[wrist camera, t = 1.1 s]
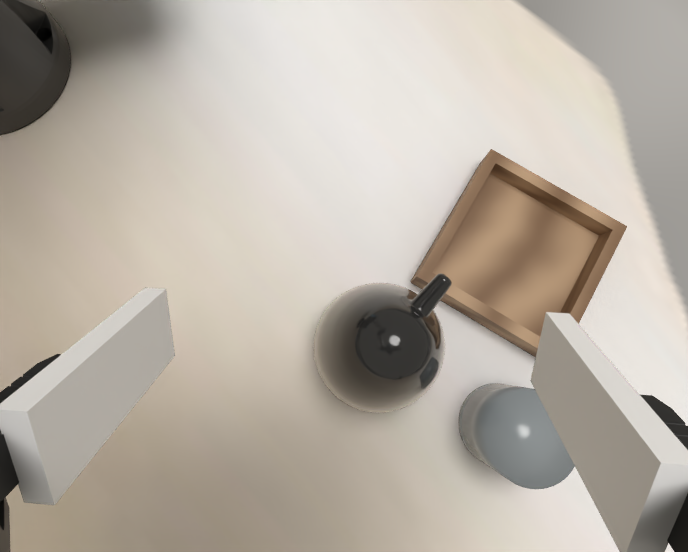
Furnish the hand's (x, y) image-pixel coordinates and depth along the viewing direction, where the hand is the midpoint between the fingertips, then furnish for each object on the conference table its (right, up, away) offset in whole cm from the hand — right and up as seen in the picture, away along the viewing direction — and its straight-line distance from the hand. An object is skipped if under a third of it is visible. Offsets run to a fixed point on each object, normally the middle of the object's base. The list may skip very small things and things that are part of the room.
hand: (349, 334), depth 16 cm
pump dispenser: (+2, -4, +25) cm, 25 cm away
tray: (+16, +4, +27) cm, 31 cm away
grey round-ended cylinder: (+13, -11, +24) cm, 30 cm away
